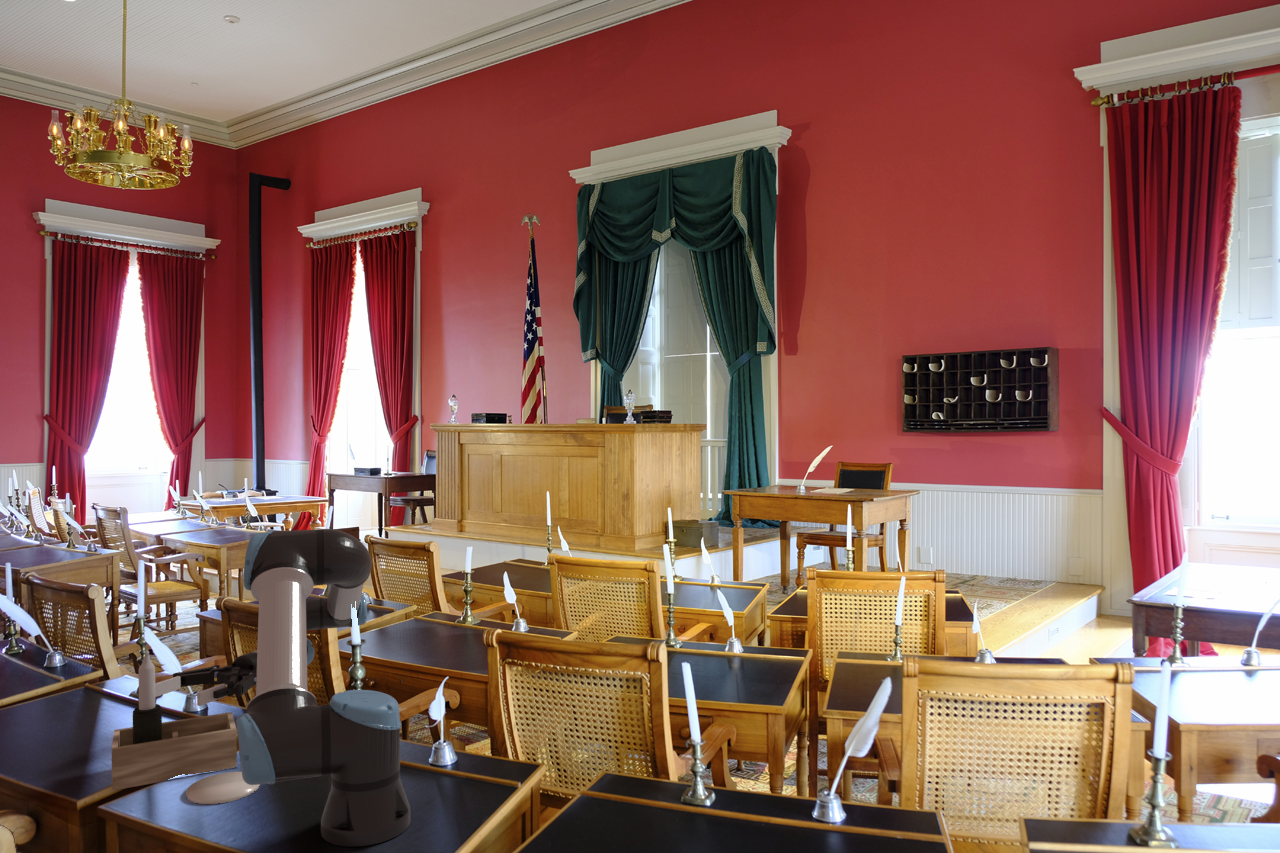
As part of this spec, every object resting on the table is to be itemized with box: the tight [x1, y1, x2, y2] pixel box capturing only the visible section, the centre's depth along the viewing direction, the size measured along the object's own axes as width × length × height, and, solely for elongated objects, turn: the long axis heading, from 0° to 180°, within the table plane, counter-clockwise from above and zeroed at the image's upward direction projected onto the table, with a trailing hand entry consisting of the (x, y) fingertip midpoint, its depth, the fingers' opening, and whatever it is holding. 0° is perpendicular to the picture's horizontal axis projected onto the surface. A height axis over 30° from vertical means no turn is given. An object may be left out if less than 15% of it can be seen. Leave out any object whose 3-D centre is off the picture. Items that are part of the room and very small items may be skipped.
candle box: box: [111, 711, 238, 792], centre depth 178 cm, size 12×22×8 cm, turn 119°
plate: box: [185, 771, 261, 805], centre depth 168 cm, size 13×13×1 cm
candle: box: [132, 650, 163, 744], centre depth 176 cm, size 5×5×25 cm
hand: (174, 695), depth 182 cm, fingers open, 13 cm apart
